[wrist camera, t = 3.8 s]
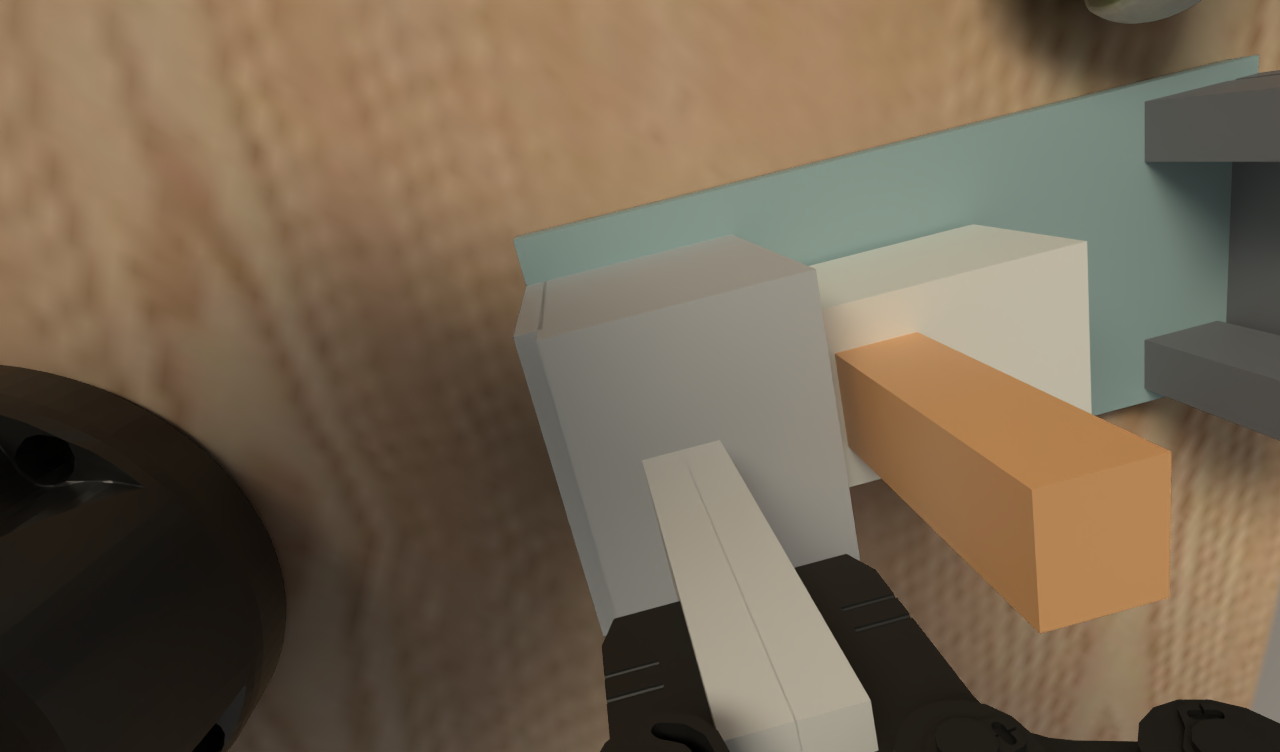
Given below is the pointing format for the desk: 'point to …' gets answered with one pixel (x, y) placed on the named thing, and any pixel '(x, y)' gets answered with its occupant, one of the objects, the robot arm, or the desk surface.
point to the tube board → (873, 218)
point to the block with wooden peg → (997, 417)
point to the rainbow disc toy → (1137, 9)
